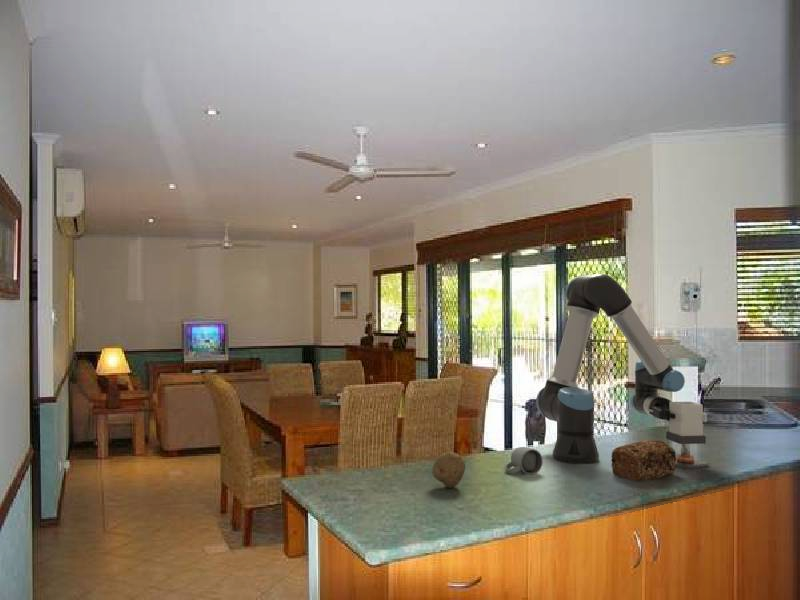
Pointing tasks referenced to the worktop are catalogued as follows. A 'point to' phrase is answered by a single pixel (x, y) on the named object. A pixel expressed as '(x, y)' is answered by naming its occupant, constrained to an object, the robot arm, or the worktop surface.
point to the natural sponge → (449, 469)
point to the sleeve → (687, 419)
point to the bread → (643, 460)
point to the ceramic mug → (525, 461)
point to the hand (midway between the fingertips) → (693, 417)
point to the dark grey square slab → (686, 439)
